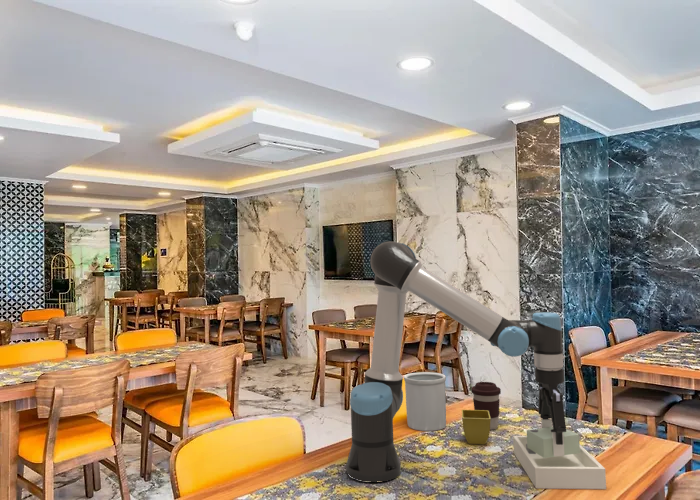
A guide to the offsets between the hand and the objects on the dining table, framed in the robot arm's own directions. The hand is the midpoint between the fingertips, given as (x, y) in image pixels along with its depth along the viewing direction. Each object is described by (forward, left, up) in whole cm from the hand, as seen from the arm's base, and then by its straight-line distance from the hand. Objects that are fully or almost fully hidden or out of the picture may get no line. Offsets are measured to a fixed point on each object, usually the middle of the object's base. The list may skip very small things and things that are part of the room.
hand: (552, 448), depth 138 cm
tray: (0, -2, -5) cm, 5 cm away
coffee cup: (-12, +34, -5) cm, 36 cm away
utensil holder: (-33, +36, -5) cm, 49 cm away
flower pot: (-18, +19, -5) cm, 27 cm away
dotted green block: (0, 0, 0) cm, 0 cm away
